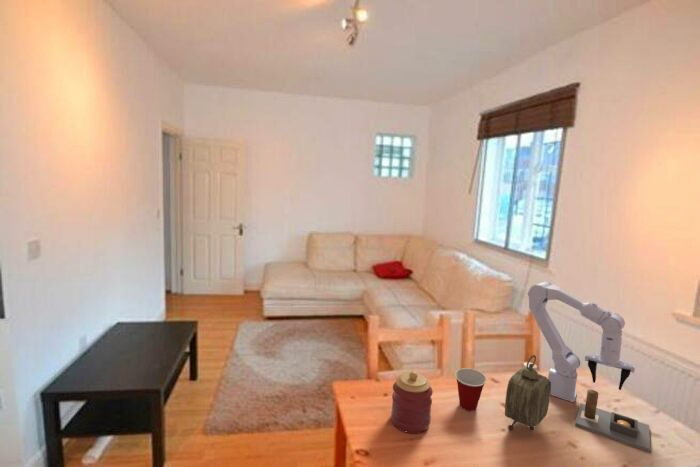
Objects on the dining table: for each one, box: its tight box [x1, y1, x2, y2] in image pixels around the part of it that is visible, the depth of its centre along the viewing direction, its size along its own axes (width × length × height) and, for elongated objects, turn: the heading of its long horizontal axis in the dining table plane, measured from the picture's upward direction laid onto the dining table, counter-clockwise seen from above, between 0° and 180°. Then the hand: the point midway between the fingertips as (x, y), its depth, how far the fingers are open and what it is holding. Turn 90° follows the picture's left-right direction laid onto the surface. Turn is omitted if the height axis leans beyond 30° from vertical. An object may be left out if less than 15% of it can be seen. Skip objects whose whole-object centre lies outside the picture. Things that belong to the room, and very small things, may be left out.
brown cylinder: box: [584, 389, 599, 419], centre depth 131 cm, size 3×3×9 cm
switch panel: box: [574, 402, 651, 453], centre depth 129 cm, size 20×15×4 cm
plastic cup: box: [454, 367, 487, 412], centre depth 136 cm, size 11×11×12 cm
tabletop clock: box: [504, 354, 551, 431], centre depth 125 cm, size 14×9×25 cm, turn 135°
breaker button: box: [617, 420, 631, 427], centre depth 126 cm, size 4×4×1 cm
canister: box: [390, 371, 434, 434], centre depth 126 cm, size 13×13×18 cm
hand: (606, 385), depth 136 cm, fingers open, 7 cm apart
